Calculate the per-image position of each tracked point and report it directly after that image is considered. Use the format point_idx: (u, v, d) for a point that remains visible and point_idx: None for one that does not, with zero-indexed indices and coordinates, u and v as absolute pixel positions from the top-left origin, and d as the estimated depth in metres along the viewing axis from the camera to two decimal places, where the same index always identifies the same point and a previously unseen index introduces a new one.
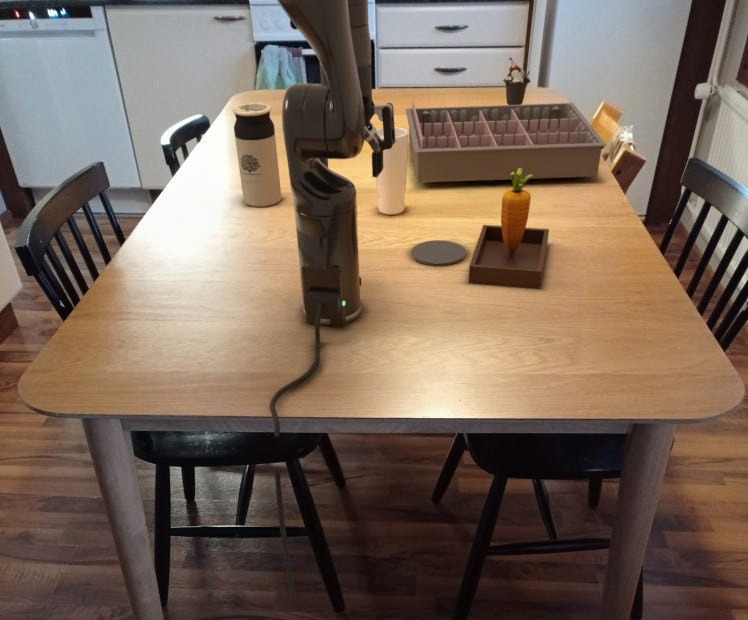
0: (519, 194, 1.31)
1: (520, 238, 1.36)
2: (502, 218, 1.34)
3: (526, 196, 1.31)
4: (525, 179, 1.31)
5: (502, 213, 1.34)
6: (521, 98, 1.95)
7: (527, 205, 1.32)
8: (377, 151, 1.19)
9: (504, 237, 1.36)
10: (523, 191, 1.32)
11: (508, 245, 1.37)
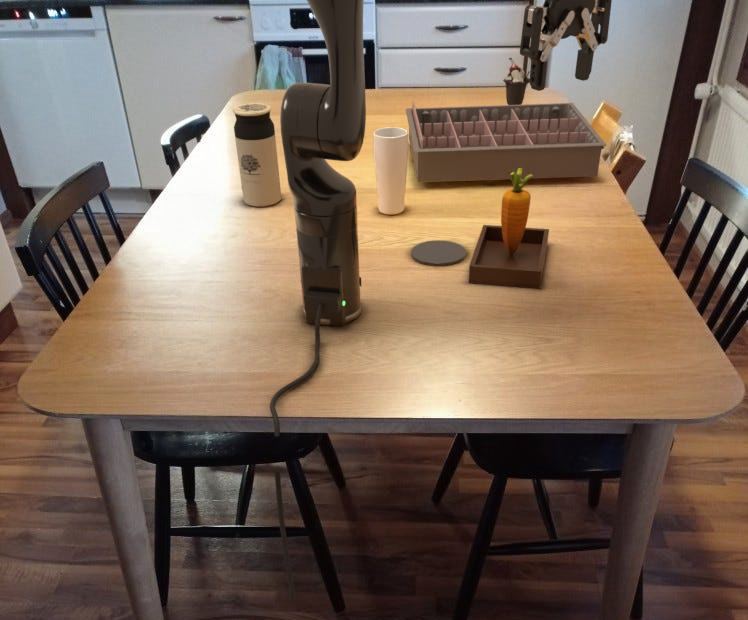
0: (519, 194, 1.31)
1: (520, 238, 1.36)
2: (502, 218, 1.34)
3: (526, 196, 1.31)
4: (525, 179, 1.31)
5: (502, 213, 1.34)
6: (521, 98, 1.95)
7: (527, 205, 1.32)
8: (594, 48, 1.11)
9: (504, 237, 1.36)
10: (523, 191, 1.32)
11: (508, 245, 1.37)
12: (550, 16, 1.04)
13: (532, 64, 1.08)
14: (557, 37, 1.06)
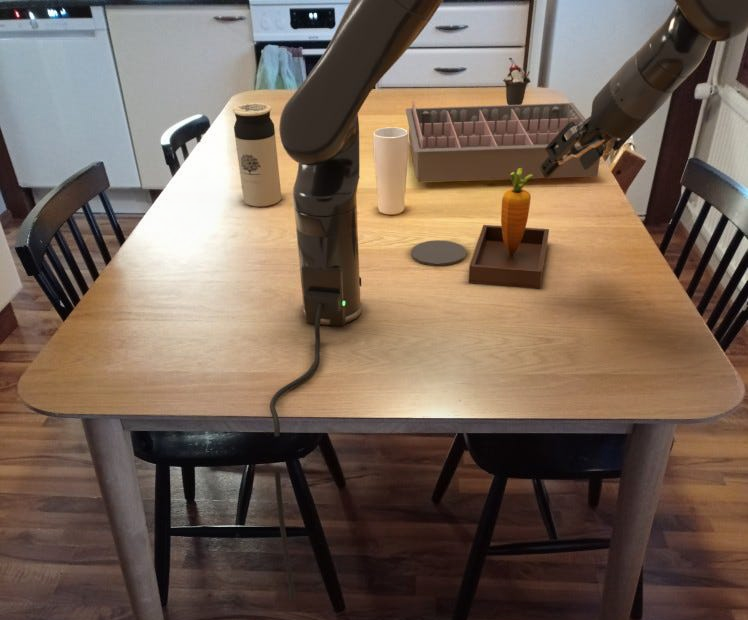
0: (519, 194, 1.31)
1: (520, 238, 1.36)
2: (502, 218, 1.34)
3: (526, 196, 1.31)
4: (525, 179, 1.31)
5: (502, 213, 1.34)
6: (521, 98, 1.95)
7: (527, 205, 1.32)
8: (605, 154, 1.19)
9: (504, 237, 1.36)
10: (523, 191, 1.32)
11: (508, 245, 1.37)
12: (584, 138, 1.11)
13: None
14: (580, 153, 1.13)
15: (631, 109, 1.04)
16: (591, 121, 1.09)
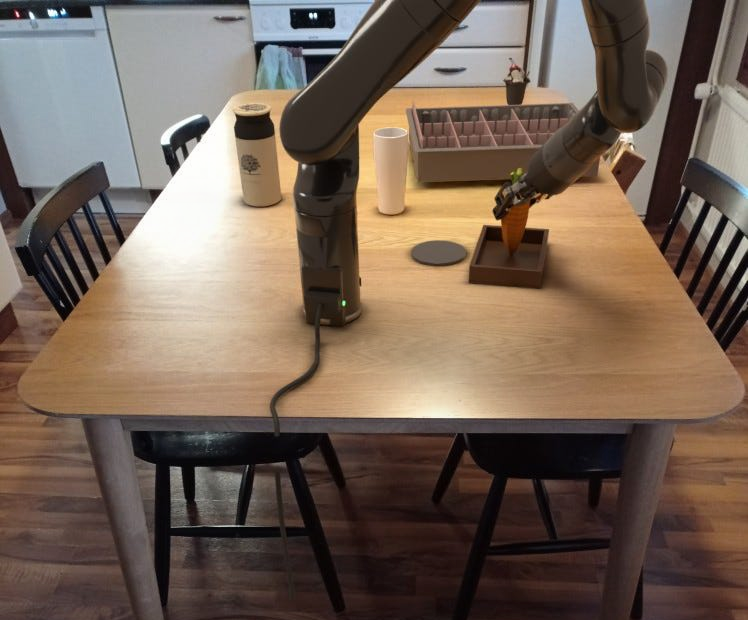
0: None
1: (520, 238, 1.36)
2: (502, 218, 1.34)
3: None
4: None
5: None
6: (521, 98, 1.95)
7: (527, 205, 1.32)
8: (537, 202, 1.33)
9: (504, 237, 1.36)
10: None
11: (508, 245, 1.37)
12: (521, 192, 1.25)
13: None
14: (522, 203, 1.28)
15: (558, 174, 1.18)
16: (527, 179, 1.23)
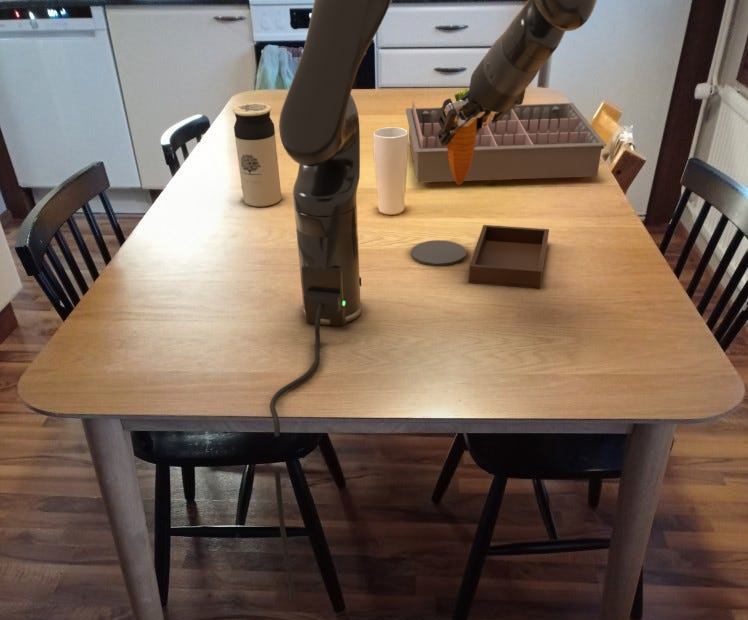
0: None
1: (467, 165, 1.29)
2: (448, 143, 1.28)
3: None
4: None
5: None
6: (521, 98, 1.95)
7: (473, 128, 1.25)
8: (484, 126, 1.27)
9: (451, 164, 1.30)
10: None
11: (456, 174, 1.30)
12: (464, 109, 1.18)
13: None
14: (467, 124, 1.22)
15: (500, 86, 1.12)
16: (469, 94, 1.17)
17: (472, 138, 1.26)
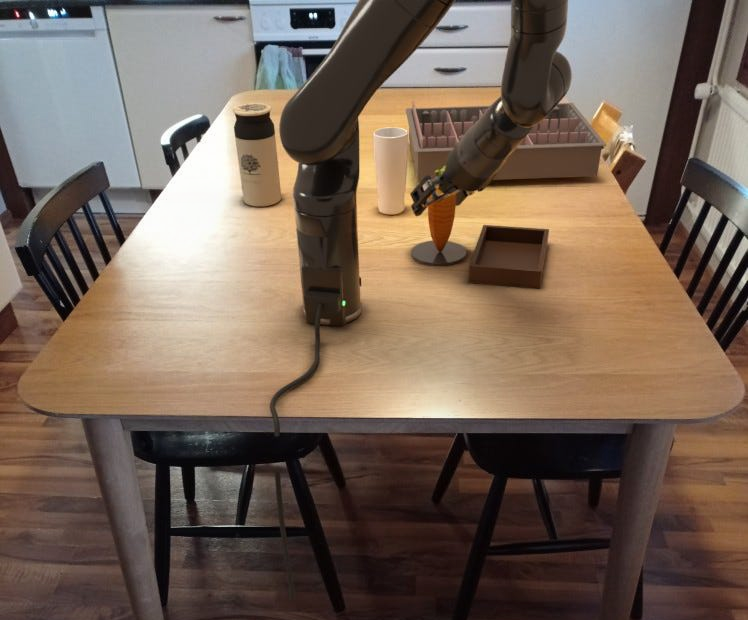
0: None
1: (447, 235, 1.37)
2: (429, 215, 1.36)
3: None
4: None
5: (429, 210, 1.35)
6: None
7: (452, 202, 1.33)
8: (470, 194, 1.35)
9: (432, 234, 1.38)
10: None
11: (436, 242, 1.38)
12: (440, 188, 1.27)
13: None
14: (440, 199, 1.29)
15: (473, 171, 1.20)
16: (445, 175, 1.25)
17: (451, 211, 1.34)
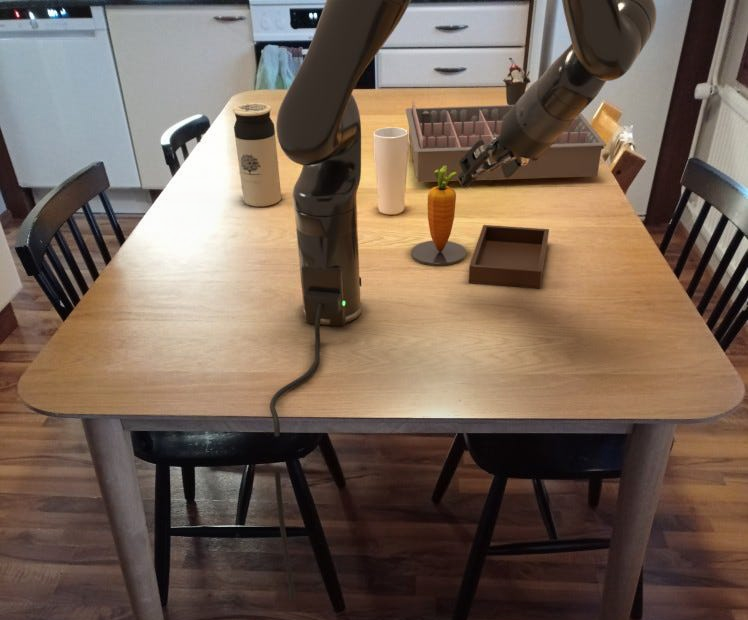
0: (443, 191, 1.32)
1: (447, 235, 1.37)
2: (429, 215, 1.36)
3: (450, 193, 1.32)
4: (449, 177, 1.32)
5: (428, 210, 1.35)
6: None
7: (452, 202, 1.33)
8: (524, 164, 1.21)
9: (432, 234, 1.38)
10: (448, 188, 1.33)
11: (436, 242, 1.38)
12: (494, 155, 1.13)
13: None
14: (493, 168, 1.15)
15: (534, 134, 1.06)
16: (500, 140, 1.11)
17: (451, 211, 1.34)
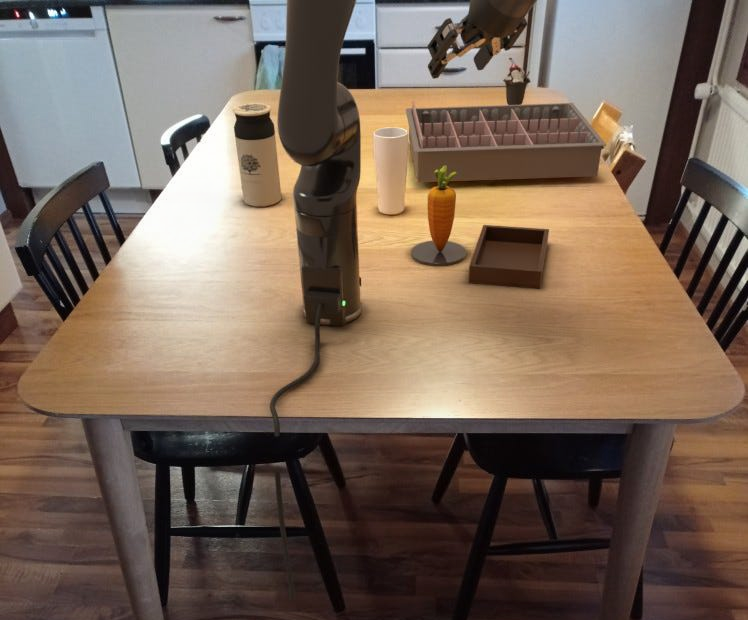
0: (443, 191, 1.32)
1: (447, 235, 1.37)
2: (429, 215, 1.36)
3: (450, 193, 1.32)
4: (449, 177, 1.32)
5: (428, 210, 1.35)
6: (521, 98, 1.95)
7: (452, 202, 1.33)
8: (496, 54, 1.17)
9: (432, 234, 1.38)
10: (448, 188, 1.33)
11: (436, 242, 1.38)
12: (463, 36, 1.09)
13: None
14: (462, 53, 1.12)
15: (502, 6, 1.03)
16: (468, 18, 1.07)
17: (451, 211, 1.34)
